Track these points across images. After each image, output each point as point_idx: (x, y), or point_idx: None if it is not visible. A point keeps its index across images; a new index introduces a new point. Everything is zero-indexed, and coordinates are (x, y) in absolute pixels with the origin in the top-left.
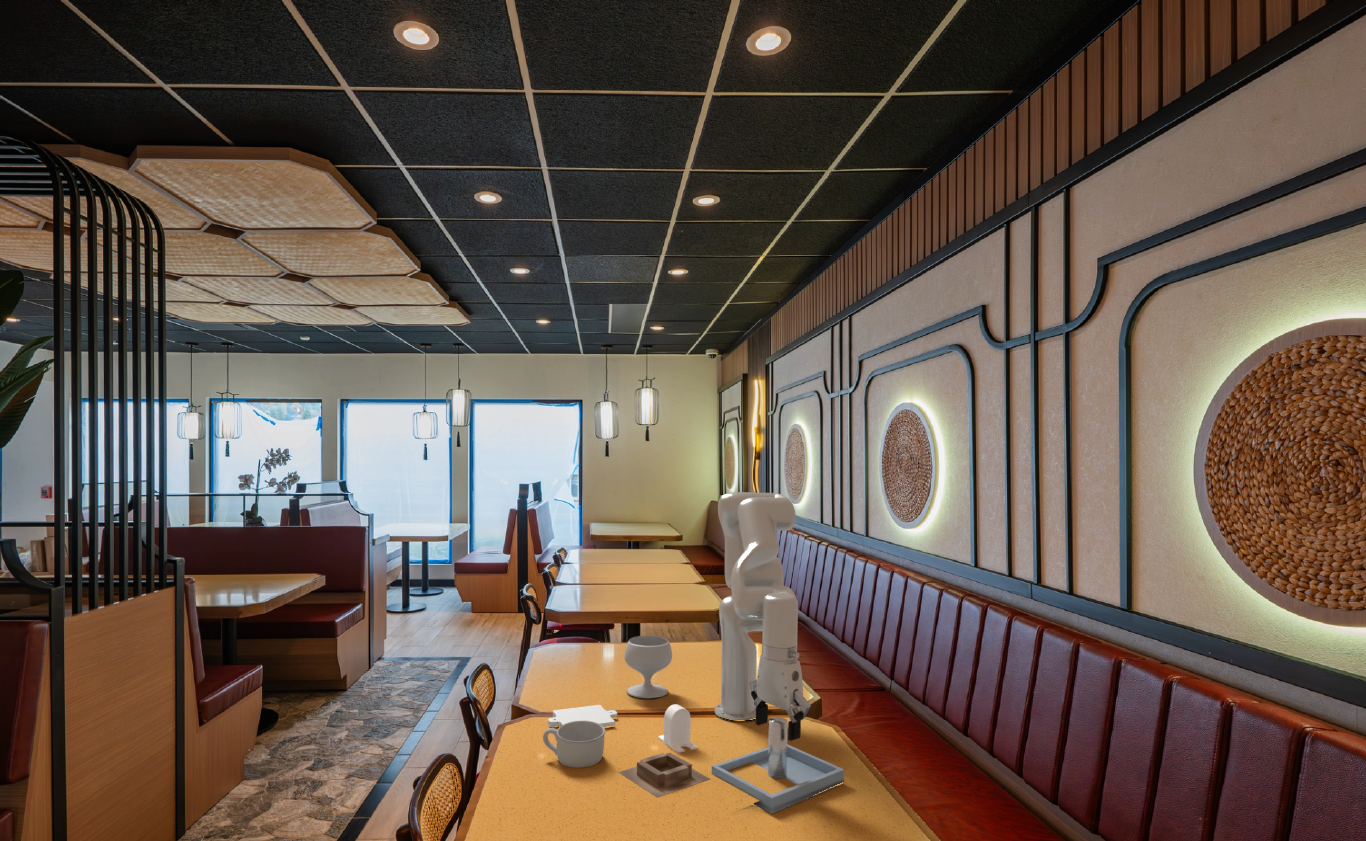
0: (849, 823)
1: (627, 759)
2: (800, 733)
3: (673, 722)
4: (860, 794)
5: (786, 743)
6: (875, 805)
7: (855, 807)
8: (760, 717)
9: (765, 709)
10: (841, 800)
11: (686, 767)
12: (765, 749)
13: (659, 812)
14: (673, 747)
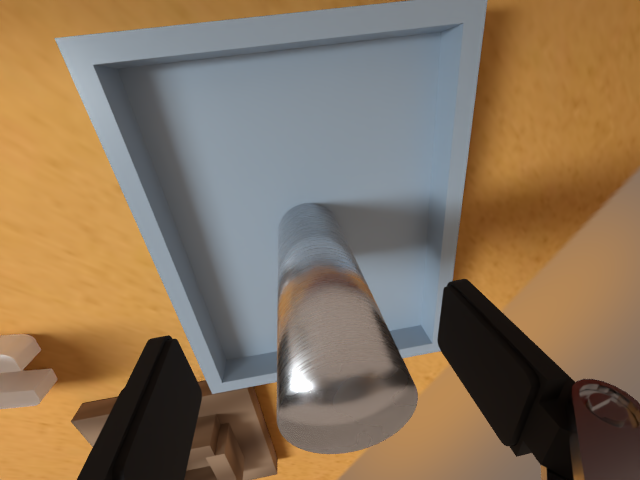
0: (579, 201)
1: (36, 462)
2: (479, 291)
3: None
4: (537, 23)
5: (367, 285)
6: (608, 43)
7: (559, 120)
8: (186, 430)
9: (148, 457)
10: (508, 126)
11: (223, 457)
12: (135, 190)
13: (302, 459)
14: (5, 407)
